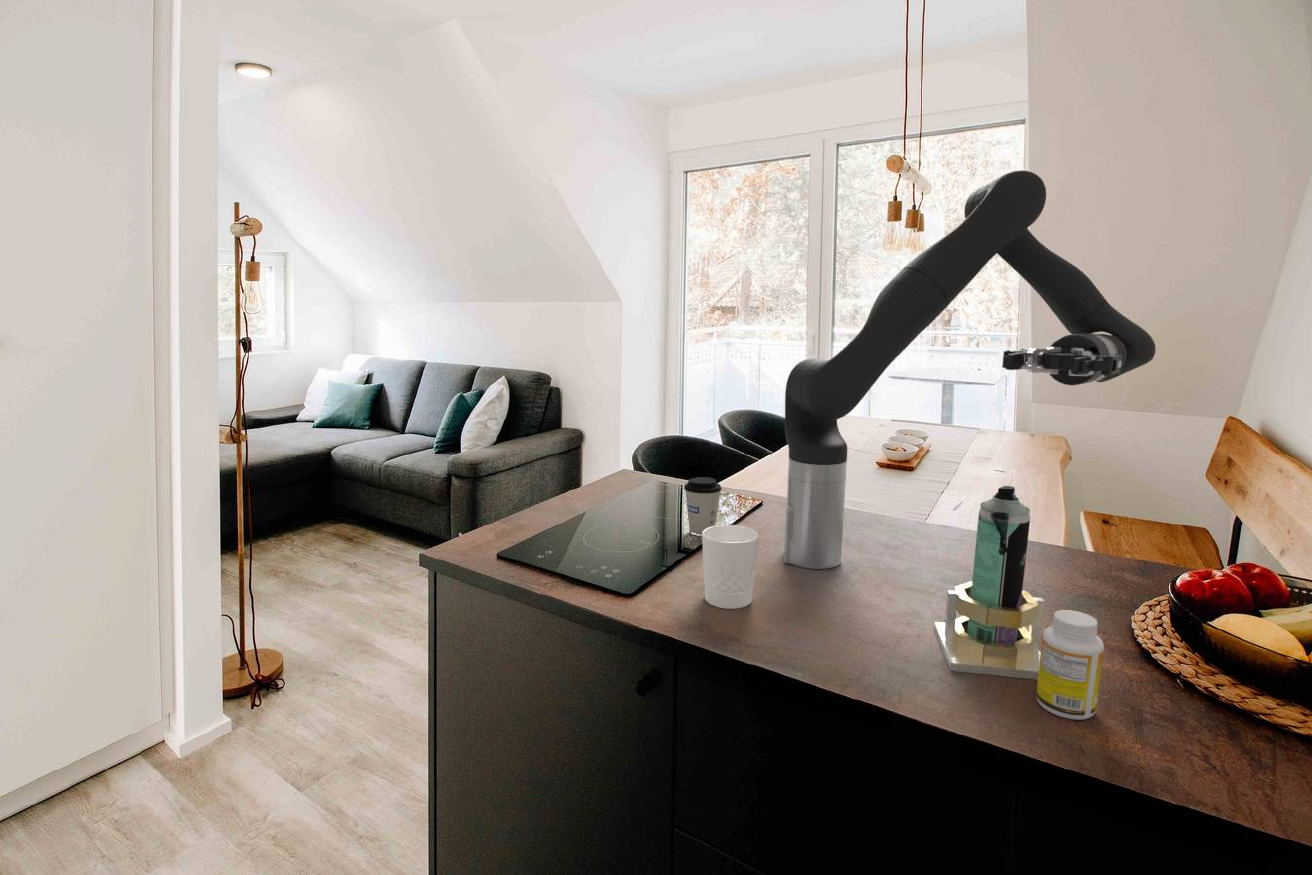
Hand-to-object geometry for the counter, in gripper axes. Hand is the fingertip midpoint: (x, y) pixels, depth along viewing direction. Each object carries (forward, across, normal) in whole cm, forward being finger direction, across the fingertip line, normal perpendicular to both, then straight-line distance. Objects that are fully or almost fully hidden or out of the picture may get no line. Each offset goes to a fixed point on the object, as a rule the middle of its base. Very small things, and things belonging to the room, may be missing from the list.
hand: (1041, 364), depth 97 cm
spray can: (+19, +4, +33) cm, 39 cm away
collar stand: (+20, +4, +34) cm, 40 cm away
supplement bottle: (+26, +15, +34) cm, 45 cm away
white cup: (+32, -28, +34) cm, 54 cm away
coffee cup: (+13, -51, +34) cm, 63 cm away
